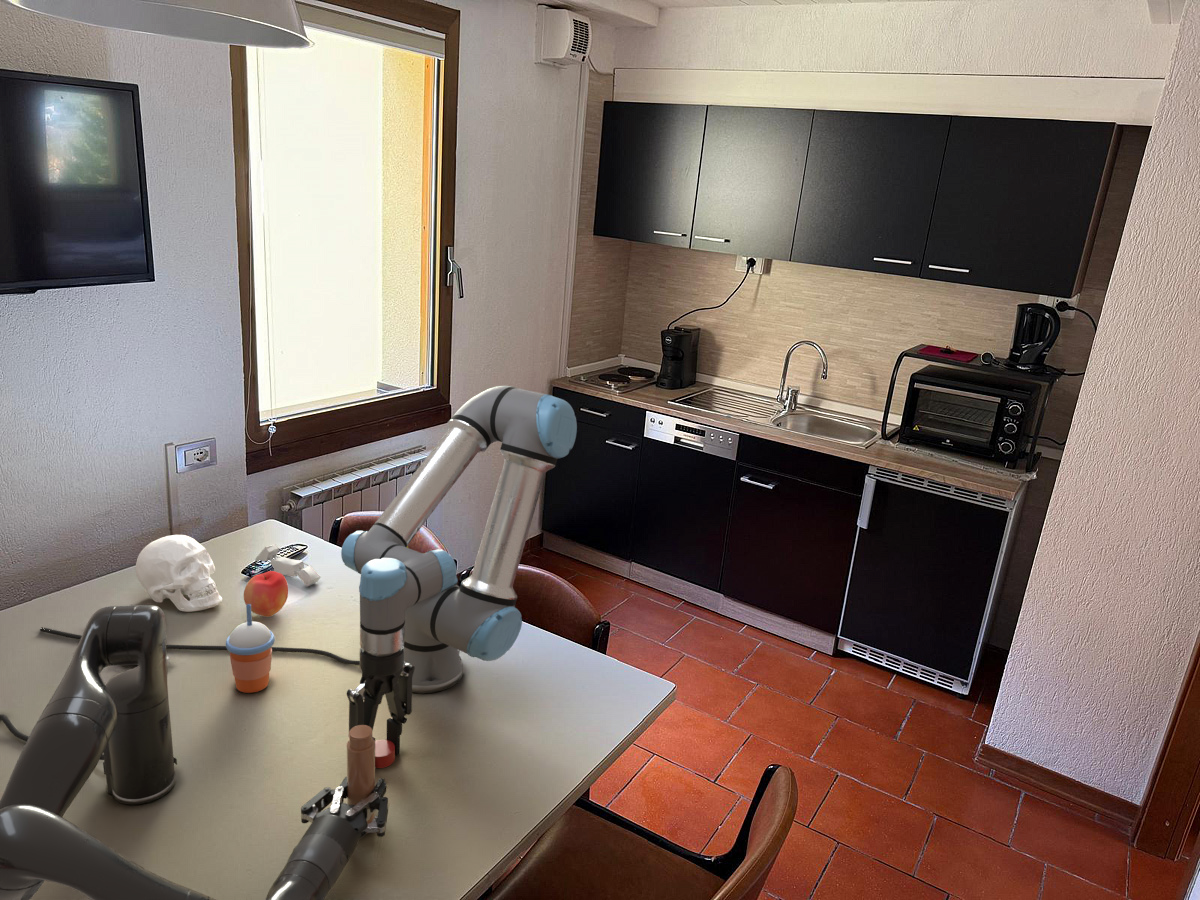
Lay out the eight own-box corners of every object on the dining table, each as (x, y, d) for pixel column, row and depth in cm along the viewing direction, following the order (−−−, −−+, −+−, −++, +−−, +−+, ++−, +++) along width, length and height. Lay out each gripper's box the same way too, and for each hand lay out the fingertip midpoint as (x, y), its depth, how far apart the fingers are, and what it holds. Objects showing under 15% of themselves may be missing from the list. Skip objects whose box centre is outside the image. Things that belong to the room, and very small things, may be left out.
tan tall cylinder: (343, 822, 139) (342, 728, 134) (369, 813, 142) (368, 720, 137) (353, 839, 136) (352, 743, 131) (379, 829, 139) (379, 734, 133)
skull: (201, 621, 195) (199, 557, 191) (123, 601, 201) (119, 539, 197) (241, 598, 208) (239, 537, 203) (167, 580, 213) (163, 521, 209)
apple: (273, 600, 207) (272, 562, 204) (297, 613, 202) (296, 575, 199) (237, 614, 200) (234, 575, 197) (261, 628, 194) (259, 588, 191)
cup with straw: (259, 701, 168) (256, 619, 163) (218, 692, 170) (213, 611, 165) (285, 676, 177) (282, 598, 172) (245, 669, 179) (241, 591, 173)
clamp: (253, 565, 223) (254, 542, 221) (265, 560, 226) (266, 537, 224) (309, 593, 215) (310, 569, 213) (320, 588, 218) (321, 564, 216)
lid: (389, 769, 152) (389, 758, 152) (362, 766, 153) (362, 754, 152) (398, 752, 157) (398, 741, 156) (372, 749, 157) (372, 738, 157)
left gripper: (274, 869, 125) (327, 791, 142) (367, 886, 124) (410, 806, 140) (273, 827, 123) (326, 753, 139) (367, 844, 121) (410, 767, 138)
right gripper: (406, 620, 157) (404, 728, 164) (325, 658, 143) (325, 775, 150) (435, 634, 153) (431, 745, 160) (354, 675, 139) (354, 794, 146)
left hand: (368, 780), depth 140 cm, fingers closed on tan tall cylinder, 4 cm apart
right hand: (380, 759), depth 155 cm, fingers open, 5 cm apart
